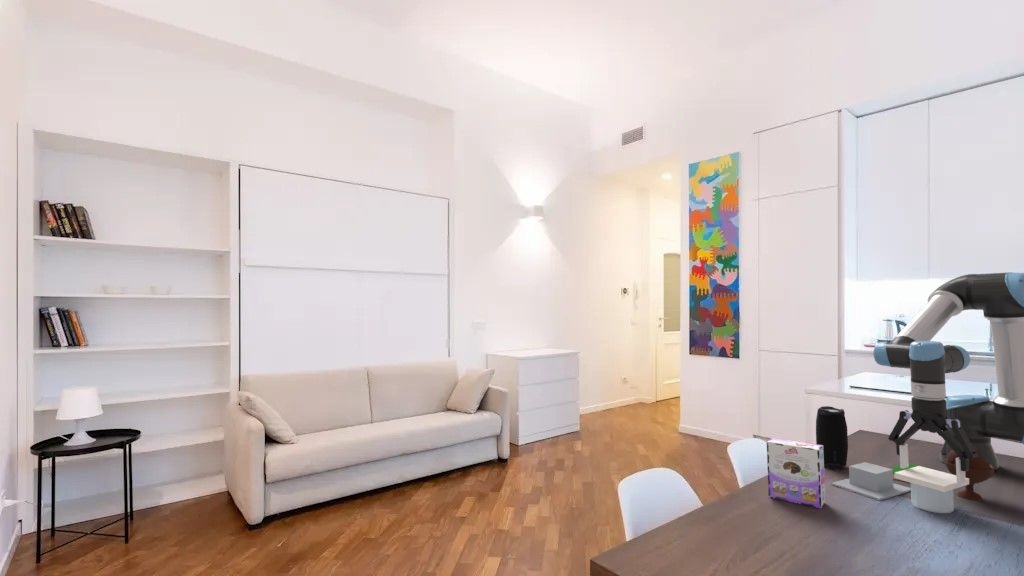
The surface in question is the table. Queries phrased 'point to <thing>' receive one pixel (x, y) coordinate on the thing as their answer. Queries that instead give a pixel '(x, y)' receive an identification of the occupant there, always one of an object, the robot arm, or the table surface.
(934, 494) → the ceramic bowl
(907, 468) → the dish sponge
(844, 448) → the portable speaker
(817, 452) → the candy box
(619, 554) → the table surface
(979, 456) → the ice cream bowl
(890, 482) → the stand
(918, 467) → the white flat square block
